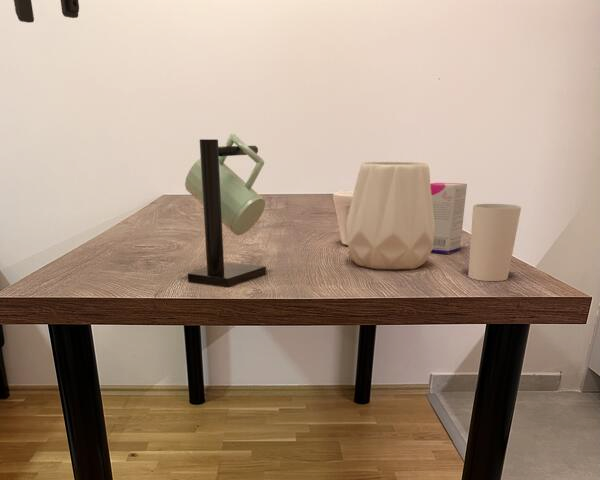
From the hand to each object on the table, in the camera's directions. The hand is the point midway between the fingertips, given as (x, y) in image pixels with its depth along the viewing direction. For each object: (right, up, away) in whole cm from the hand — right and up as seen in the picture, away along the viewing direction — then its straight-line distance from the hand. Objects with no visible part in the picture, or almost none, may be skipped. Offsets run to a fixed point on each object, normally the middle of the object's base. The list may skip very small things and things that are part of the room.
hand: (48, 19), depth 87 cm
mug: (+28, -24, +4) cm, 37 cm away
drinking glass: (+63, -33, +8) cm, 71 cm away
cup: (+46, -21, +34) cm, 60 cm away
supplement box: (+60, -23, +28) cm, 70 cm away
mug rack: (+25, -33, +8) cm, 42 cm away
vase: (+49, -29, +17) cm, 59 cm away
